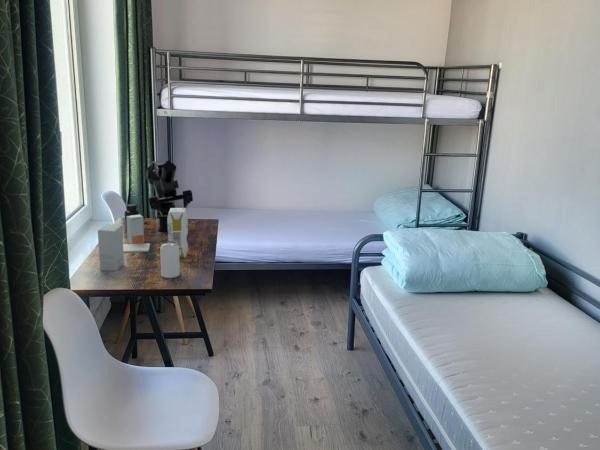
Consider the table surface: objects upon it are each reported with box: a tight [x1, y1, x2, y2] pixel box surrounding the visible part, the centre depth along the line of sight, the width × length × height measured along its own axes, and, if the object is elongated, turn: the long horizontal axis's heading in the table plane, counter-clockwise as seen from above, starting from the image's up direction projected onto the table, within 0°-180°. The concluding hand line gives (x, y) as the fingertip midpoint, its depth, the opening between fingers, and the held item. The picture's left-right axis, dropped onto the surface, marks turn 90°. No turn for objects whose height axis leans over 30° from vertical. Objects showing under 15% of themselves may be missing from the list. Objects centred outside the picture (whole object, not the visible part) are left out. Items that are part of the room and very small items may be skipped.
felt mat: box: [123, 242, 151, 253], centre depth 211 cm, size 10×12×1 cm
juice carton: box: [167, 207, 189, 259], centre depth 201 cm, size 8×9×19 cm
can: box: [159, 240, 181, 279], centre depth 180 cm, size 6×6×12 cm
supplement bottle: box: [124, 203, 141, 232], centre depth 238 cm, size 7×7×12 cm
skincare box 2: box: [126, 214, 145, 244], centre depth 217 cm, size 6×4×12 cm
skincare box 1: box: [97, 223, 125, 272], centre depth 186 cm, size 8×7×16 cm
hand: (174, 214), depth 219 cm, fingers open, 9 cm apart
